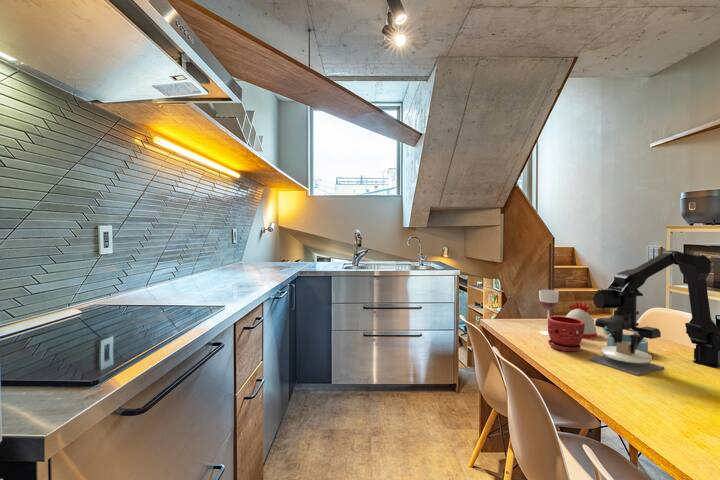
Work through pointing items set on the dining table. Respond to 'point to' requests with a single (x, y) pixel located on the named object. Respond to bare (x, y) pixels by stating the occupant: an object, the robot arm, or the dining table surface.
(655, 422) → the dining table surface
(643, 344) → the bowl
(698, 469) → the dining table surface
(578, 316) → the kitchen timer
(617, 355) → the lid
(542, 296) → the wineglass
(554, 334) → the plant pot
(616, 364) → the mat
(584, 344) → the dining table surface
